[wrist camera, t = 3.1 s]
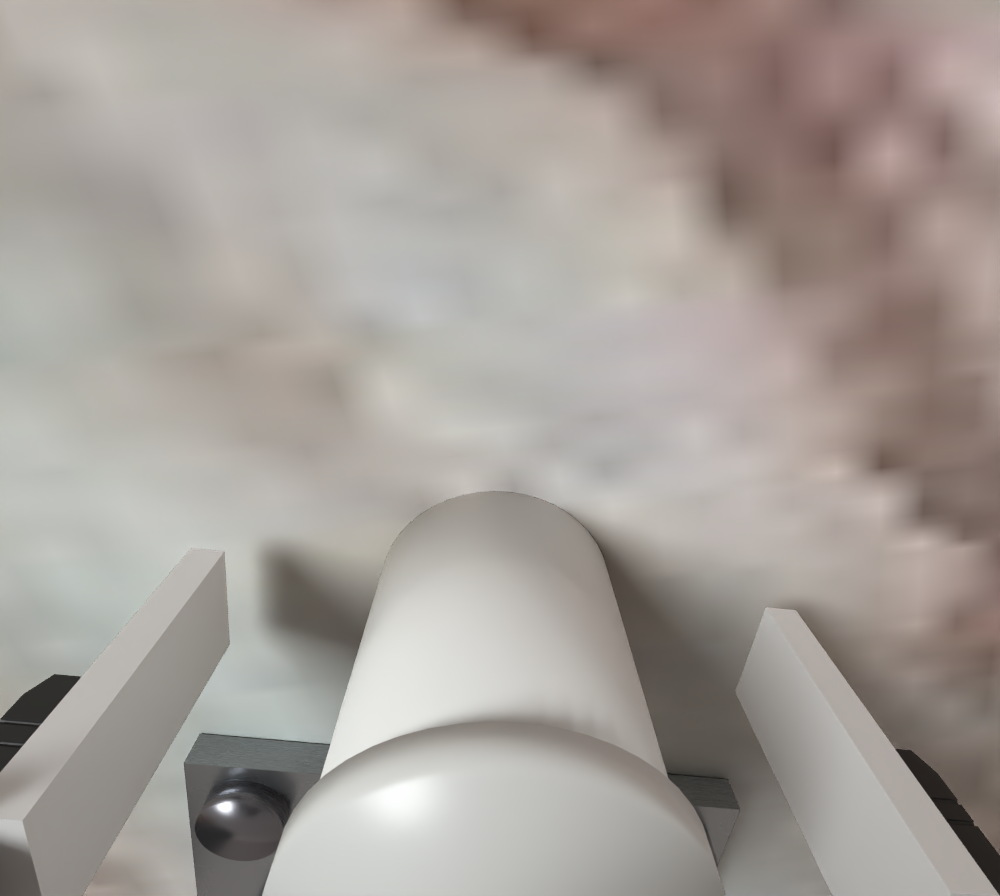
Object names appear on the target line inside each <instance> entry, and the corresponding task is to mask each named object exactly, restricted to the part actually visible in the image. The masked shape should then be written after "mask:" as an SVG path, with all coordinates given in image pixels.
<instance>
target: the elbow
mask: <svg viewBox="0 0 1000 896" xmlns="http://www.w3.org/2000/svg"><path fill="white" fill-rule="evenodd" d="M262 896H726V895H725V892H724V888H723V885H722V882H721V879H720V876H719V873H718V870H717V867H716V864H715V860H714V857H713V854H712V851H711V848H710V845H709V842H708V839H707V836H706V833H705V830H704V827H703V824H702V822H701V820H700V818H699V816H698V815H697V813H696V811H695V809H694V807H693V805H692V804H691V803H690V802H689V800H688V799H687V798H686V797H685V795H684V794H683V793H682V792H681V790H680V789H679V788H678V787H677V786H676V785H675V784H674V783H672V782H671V781H670V780H669V779H668V775H667V772H666V768H665V765H664V762H663V758H662V755H661V751H660V748H659V745H658V741H657V738H656V734H655V731H654V728H653V724H652V721H651V717H650V714H649V710H648V707H647V704H646V700H645V697H644V693H643V690H642V687H641V683H640V680H639V676H638V673H637V670H636V666H635V663H634V659H633V656H632V653H631V649H630V646H629V642H628V639H627V636H626V632H625V629H624V625H623V622H622V619H621V615H620V612H619V608H618V605H617V602H616V598H615V595H614V591H613V588H612V584H611V581H610V578H609V574H608V571H607V567H606V564H605V561H604V558H603V555H602V553H601V551H600V549H599V547H598V545H597V543H596V542H595V540H594V539H593V538H592V536H591V535H590V533H589V532H588V531H587V530H586V529H585V528H584V527H583V526H582V525H581V524H580V523H579V522H578V521H577V520H576V519H574V518H573V517H572V516H571V515H569V514H568V513H567V512H565V511H563V510H562V509H560V508H558V507H557V506H555V505H553V504H550V503H548V502H546V501H544V500H541V499H538V498H535V497H531V496H528V495H524V494H518V493H512V492H499V491H490V492H477V493H471V494H466V495H461V496H458V497H455V498H452V499H449V500H446V501H444V502H442V503H439V504H437V505H435V506H433V507H431V508H430V509H428V510H426V511H425V512H423V513H422V514H420V515H419V516H418V517H416V518H415V519H414V520H413V521H412V522H410V523H409V524H408V525H407V526H406V527H405V529H404V530H403V531H402V532H401V533H400V534H399V536H398V537H397V538H396V540H395V541H394V543H393V544H392V546H391V548H390V550H389V552H388V554H387V556H386V560H385V563H384V566H383V569H382V573H381V576H380V579H379V583H378V586H377V589H376V593H375V596H374V600H373V603H372V606H371V610H370V613H369V616H368V620H367V623H366V626H365V630H364V633H363V636H362V640H361V643H360V647H359V650H358V653H357V657H356V660H355V663H354V667H353V670H352V673H351V677H350V680H349V684H348V687H347V690H346V694H345V697H344V700H343V704H342V707H341V710H340V714H339V717H338V720H337V724H336V727H335V731H334V734H333V737H332V741H331V744H330V747H329V751H328V754H327V757H326V761H325V764H324V768H323V771H322V774H321V778H320V780H319V781H318V782H317V783H316V784H315V785H314V786H313V787H312V788H310V789H309V790H308V791H307V793H306V794H305V795H304V796H303V798H302V799H301V800H300V802H299V803H298V804H297V806H296V807H295V808H294V810H293V812H292V814H291V815H290V817H289V819H288V821H287V823H286V825H285V827H284V830H283V833H282V836H281V839H280V842H279V845H278V848H277V851H276V854H275V857H274V860H273V863H272V866H271V869H270V872H269V875H268V878H267V881H266V884H265V887H264V891H263V894H262Z"/></svg>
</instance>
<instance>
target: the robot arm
mask: <svg viewBox="0 0 1000 896" xmlns="http://www.w3.org/2000/svg"><path fill="white" fill-rule="evenodd" d="M229 645H230V641H229V623H228V605H227V587H226V570H225V552H224V551H216V550H206V549H196V548H191V549H190V550H189V551H188V552H187V553H186V555H185V556H184V557H183V558H182V559H181V561H180V562H179V563H178V564H177V565H176V566H175V568H174V569H173V570H172V571H171V572H170V573H169V575H168V576H167V577H166V578H165V579H164V581H163V582H162V583H161V584H160V585H159V586H158V588H157V589H156V590H155V591H154V592H153V593H152V595H151V596H150V597H149V598H148V599H147V600H146V602H145V603H144V604H143V605H142V606H141V608H140V609H139V610H138V611H137V612H136V613H135V615H134V616H133V617H132V618H131V619H130V620H129V622H128V623H127V624H126V625H125V626H124V628H123V629H122V630H121V631H120V632H119V633H118V635H117V636H116V637H115V638H114V639H113V640H112V642H111V643H110V644H109V645H108V646H107V648H106V649H105V650H104V651H103V652H102V653H101V655H100V656H99V657H98V658H97V659H96V660H95V662H94V663H93V664H92V665H91V666H90V668H89V669H88V670H87V671H86V672H85V673H84V675H83V676H82V677H79V676H68V675H57V674H54V675H53V676H51V677H50V678H48V679H46V680H45V681H43V682H42V683H40V684H39V685H37V686H36V687H34V688H32V689H31V690H29V691H28V692H26V693H25V694H23V695H22V696H21V697H20V698H19V700H18V701H17V702H16V703H15V704H14V705H13V706H12V707H11V708H10V709H9V710H8V711H7V712H6V713H5V715H4V716H3V717H2V718H1V720H0V896H83V894H84V892H85V890H86V889H87V887H88V885H89V884H90V882H91V880H92V878H93V877H94V875H95V873H96V872H97V870H98V868H99V866H100V865H101V863H102V861H103V860H104V858H105V856H106V855H107V853H108V851H109V849H110V848H111V846H112V844H113V843H114V841H115V839H116V837H117V836H118V834H119V832H120V831H121V829H122V827H123V826H124V824H125V822H126V820H127V819H128V817H129V815H130V814H131V812H132V810H133V808H134V807H135V805H136V803H137V802H138V800H139V798H140V796H141V795H142V793H143V791H144V790H145V788H146V786H147V785H148V783H149V781H150V779H151V778H152V776H153V774H154V773H155V771H156V769H157V767H158V766H159V764H160V762H161V761H162V759H163V757H164V756H165V754H166V752H167V750H168V749H169V747H170V745H171V744H172V742H173V740H174V738H175V737H176V735H177V733H178V732H179V730H180V728H181V726H182V725H183V723H184V721H185V720H186V718H187V716H188V715H189V713H190V711H191V709H192V708H193V706H194V704H195V703H196V701H197V699H198V697H199V696H200V694H201V692H202V691H203V689H204V687H205V686H206V684H207V682H208V680H209V679H210V677H211V675H212V674H213V672H214V670H215V668H216V667H217V665H218V663H219V662H220V660H221V658H222V656H223V655H224V653H225V651H226V650H227V648H228V646H229ZM735 693H736V695H737V697H738V699H739V701H740V703H741V705H742V708H743V710H744V712H745V714H746V716H747V718H748V720H749V722H750V724H751V726H752V729H753V731H754V733H755V735H756V737H757V739H758V741H759V743H760V745H761V747H762V750H763V752H764V754H765V756H766V758H767V760H768V762H769V764H770V766H771V768H772V771H773V773H774V775H775V777H776V779H777V781H778V783H779V785H780V787H781V789H782V791H783V794H784V796H785V798H786V800H787V802H788V804H789V806H790V808H791V810H792V812H793V815H794V817H795V819H796V821H797V823H798V825H799V827H800V829H801V831H802V833H803V836H804V838H805V840H806V842H807V844H808V846H809V848H810V850H811V852H812V854H813V857H814V859H815V861H816V863H817V865H818V867H819V869H820V871H821V873H822V875H823V878H824V880H825V882H826V884H827V886H828V888H829V890H830V892H831V894H832V896H1000V855H999V854H998V853H997V851H996V850H995V849H994V848H993V846H992V845H991V844H990V842H989V841H988V840H987V838H986V837H985V836H984V834H983V833H982V832H981V830H980V829H979V828H978V827H976V826H974V824H973V820H972V818H971V817H970V816H969V814H968V813H967V812H966V811H965V809H964V808H963V807H962V805H958V803H957V799H956V797H955V796H954V795H953V793H952V792H951V791H950V789H949V788H948V787H947V785H946V784H945V783H944V781H943V780H942V779H941V777H940V776H939V775H938V774H937V773H936V772H935V771H934V770H933V769H932V768H931V767H929V766H928V765H927V764H926V763H925V762H924V761H923V760H921V759H920V758H919V757H918V756H917V755H916V754H914V753H913V752H912V751H911V750H901V749H895V748H894V747H893V746H892V744H891V743H890V741H889V740H888V739H887V737H886V736H885V734H884V733H883V732H882V730H881V729H880V727H879V726H878V725H877V723H876V722H875V720H874V719H873V718H872V716H871V715H870V713H869V712H868V711H867V709H866V708H865V706H864V705H863V704H862V702H861V701H860V699H859V698H858V697H857V695H856V694H855V692H854V691H853V690H852V688H851V687H850V685H849V684H848V683H847V681H846V680H845V678H844V677H843V676H842V674H841V673H840V671H839V670H838V669H837V667H836V666H835V664H834V663H833V661H832V660H831V659H830V657H829V656H828V654H827V653H826V652H825V650H824V649H823V647H822V646H821V645H820V643H819V642H818V640H817V639H816V638H815V636H814V635H813V633H812V632H811V631H810V629H809V628H808V626H807V625H806V624H805V622H804V621H803V619H802V618H801V617H800V615H799V614H798V612H797V611H796V610H789V609H779V608H769V607H766V608H765V611H764V614H763V617H762V619H761V622H760V625H759V628H758V630H757V633H756V636H755V639H754V641H753V644H752V647H751V650H750V652H749V655H748V658H747V661H746V663H745V666H744V669H743V672H742V674H741V677H740V680H739V683H738V686H737V688H736V691H735Z"/></svg>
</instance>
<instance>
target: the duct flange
mask: <svg viewBox="0 0 1000 896" xmlns="http://www.w3.org/2000/svg"><path fill="white" fill-rule="evenodd" d="M329 747H330V745H324V744H312V743H300V742H289V741H277V740H266V739H254V738H243V737H231V736H219V735H208V734H199V736H198V738H197V740H196V742H195V744H194V745H193V747H192V749H191V751H190V753H189V755H188V756H187V758H186V760H185V762H184V770H185V780H186V789H187V799H188V809H189V818H190V828H191V838H192V848H193V857H194V867H195V877H196V886H197V896H262V894H263V891H264V887H265V884H266V881H267V878H268V875H269V872H270V869H271V866H272V863H273V860H274V857H275V854H276V851H277V848H278V845H279V842H280V839H281V836H282V833H283V830H284V827H285V825H286V823H287V821H288V819H289V817H290V815H291V814H292V812H293V810H294V808H295V807H296V806H297V804H298V803H299V802H300V800H301V799H302V798H303V796H304V795H305V794H306V793H307V791H308V790H309V789H310V788H312V787H313V786H314V785H315V784H316V783H317V782H318V781H319V780H320V778H321V774H322V771H323V768H324V764H325V761H326V757H327V754H328V751H329ZM667 775H668V779H669V780H670V781H671V782H672V783H674V784H675V785H676V786H677V787H678V788H679V789H680V790H681V792H682V793H683V794H684V795H685V797H686V798H687V799H688V800H689V802H690V803H691V804H692V805H693V807H694V809H695V811H696V813H697V815H698V816H699V818H700V820H701V822H702V824H703V827H704V830H705V833H706V836H707V839H708V842H709V845H710V848H711V851H712V854H713V857H714V860H715V864H716V867H717V865H718V863H719V860H720V858H721V855H722V853H723V851H724V848H725V846H726V843H727V841H728V838H729V836H730V833H731V831H732V828H733V826H734V824H735V821H736V819H737V816H738V814H739V811H740V808H739V806H738V803H737V801H736V798H735V796H734V793H733V791H732V788H731V785H730V783H729V780H728V779H717V778H705V777H694V776H682V775H671V774H667Z"/></svg>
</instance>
